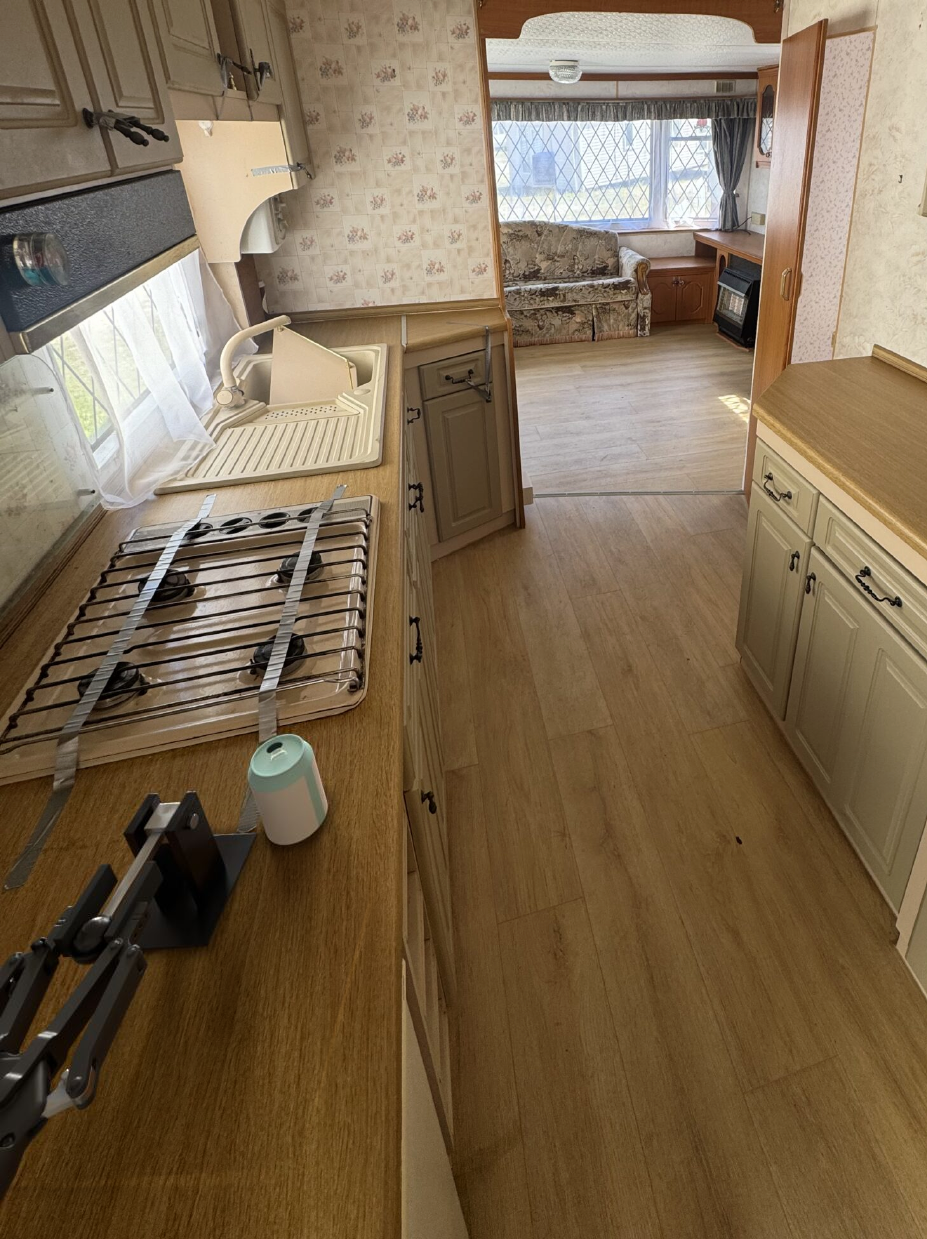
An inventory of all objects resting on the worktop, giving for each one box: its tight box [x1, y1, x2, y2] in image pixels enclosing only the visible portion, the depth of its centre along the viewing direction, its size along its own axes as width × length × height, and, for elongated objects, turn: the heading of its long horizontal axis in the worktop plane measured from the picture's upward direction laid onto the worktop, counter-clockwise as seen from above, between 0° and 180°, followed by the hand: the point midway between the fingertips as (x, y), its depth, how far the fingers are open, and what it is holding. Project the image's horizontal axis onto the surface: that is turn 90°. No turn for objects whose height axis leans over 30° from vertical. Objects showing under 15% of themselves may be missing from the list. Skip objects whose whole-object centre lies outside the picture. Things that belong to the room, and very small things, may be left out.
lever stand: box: [122, 791, 259, 951], centre depth 71 cm, size 12×9×14 cm
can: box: [247, 733, 329, 846], centre depth 79 cm, size 7×7×12 cm
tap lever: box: [70, 802, 181, 966], centre depth 64 cm, size 14×4×4 cm, turn 3°
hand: (132, 871), depth 64 cm, fingers closed on tap lever, 4 cm apart
